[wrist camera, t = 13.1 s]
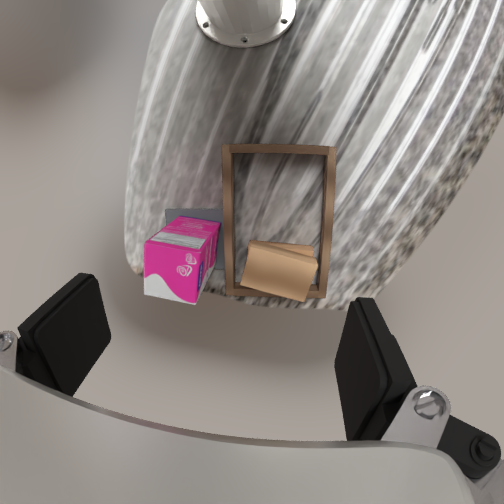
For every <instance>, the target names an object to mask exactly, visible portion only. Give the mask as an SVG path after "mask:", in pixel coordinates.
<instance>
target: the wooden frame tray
mask: <svg viewBox="0 0 504 504" xmlns="http://www.w3.org/2000/svg"><path fill="white" fill-rule="evenodd" d="M233 153H295V154H317V155H325V171H324V196H323V215H322V231H321V244H320V257H319V268H318V279H317V284H311V286H310V288H309V291H308V293H307V296H306V298H326V290H327V281H328V272H329V262H330V252H331V241H332V228H333V214H334V198H335V178H336V147H329V146H315V145H293V144H226V145H222V183H223V224H224V254H225V280H226V295H234V296H258V297H282V296H279V295H275V294H271V293H267V292H264V291H260V290H257V289H253V288H249V287H246V286H242V285H240V283H241V282H236V277H235V235H234V173H233Z"/></svg>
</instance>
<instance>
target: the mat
mask: <svg viewBox="0 0 504 504" xmlns="http://www.w3.org/2000/svg"><path fill="white" fill-rule="evenodd" d="M165 214H166V226H167V225H168V224H169V223H171V222H172V221H173V220H175V219H176V218H177V217H179V216H186V217H193V218H199V219H205V220H210V221H216V222H221V226H220V231H219V239H218V246H217V257H216V264H215V266H214V268H213V269H225V254H224V224H223V209H166V210H165Z"/></svg>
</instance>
